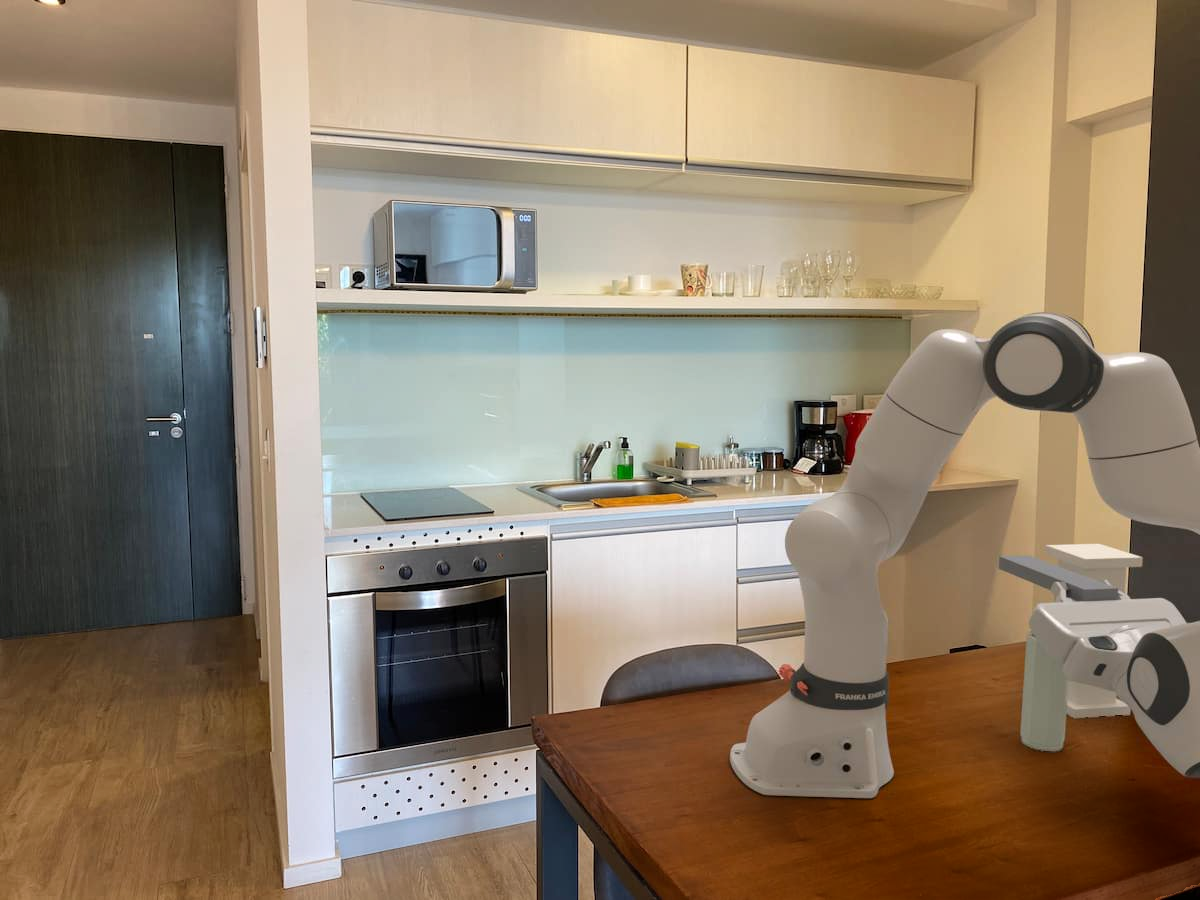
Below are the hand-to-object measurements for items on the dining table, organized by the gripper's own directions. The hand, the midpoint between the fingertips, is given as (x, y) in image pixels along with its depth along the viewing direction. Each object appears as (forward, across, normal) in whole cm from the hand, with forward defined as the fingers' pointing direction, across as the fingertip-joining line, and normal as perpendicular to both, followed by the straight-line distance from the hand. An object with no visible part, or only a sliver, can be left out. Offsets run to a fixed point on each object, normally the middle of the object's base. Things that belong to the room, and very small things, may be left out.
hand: (1077, 584), depth 128 cm
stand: (+3, -16, +32) cm, 36 cm away
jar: (-8, 0, +25) cm, 26 cm away
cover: (+4, 0, +4) cm, 5 cm away
